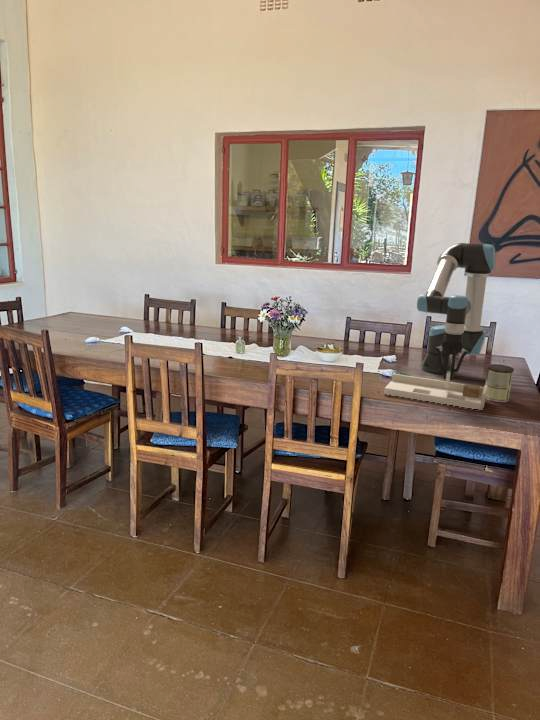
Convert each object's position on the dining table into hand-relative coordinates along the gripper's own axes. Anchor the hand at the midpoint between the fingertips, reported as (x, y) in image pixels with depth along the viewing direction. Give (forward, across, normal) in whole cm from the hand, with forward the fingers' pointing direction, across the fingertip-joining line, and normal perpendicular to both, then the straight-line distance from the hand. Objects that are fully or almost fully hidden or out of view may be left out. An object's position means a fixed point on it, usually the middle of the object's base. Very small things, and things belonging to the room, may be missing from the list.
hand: (447, 386), depth 224 cm
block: (+2, +10, -1) cm, 10 cm away
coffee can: (+5, +20, +11) cm, 23 cm away
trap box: (+5, -4, -3) cm, 7 cm away
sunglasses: (+6, -19, +13) cm, 24 cm away
